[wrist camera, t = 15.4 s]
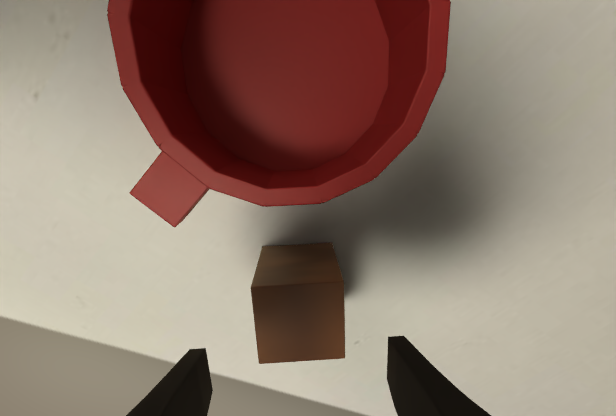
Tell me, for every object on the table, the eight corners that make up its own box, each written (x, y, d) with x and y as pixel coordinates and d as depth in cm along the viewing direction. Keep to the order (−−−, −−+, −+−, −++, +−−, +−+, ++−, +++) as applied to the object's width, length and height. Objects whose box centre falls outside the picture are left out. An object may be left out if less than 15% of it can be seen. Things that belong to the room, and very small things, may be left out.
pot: (483, 23, 16) (575, -27, 11) (268, 251, 19) (257, 300, 14) (315, -189, 13) (326, -392, 8) (97, 115, 17) (4, 111, 11)
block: (332, 242, 19) (344, 281, 14) (333, 303, 20) (345, 358, 16) (261, 246, 19) (250, 287, 14) (267, 307, 20) (258, 364, 15)
